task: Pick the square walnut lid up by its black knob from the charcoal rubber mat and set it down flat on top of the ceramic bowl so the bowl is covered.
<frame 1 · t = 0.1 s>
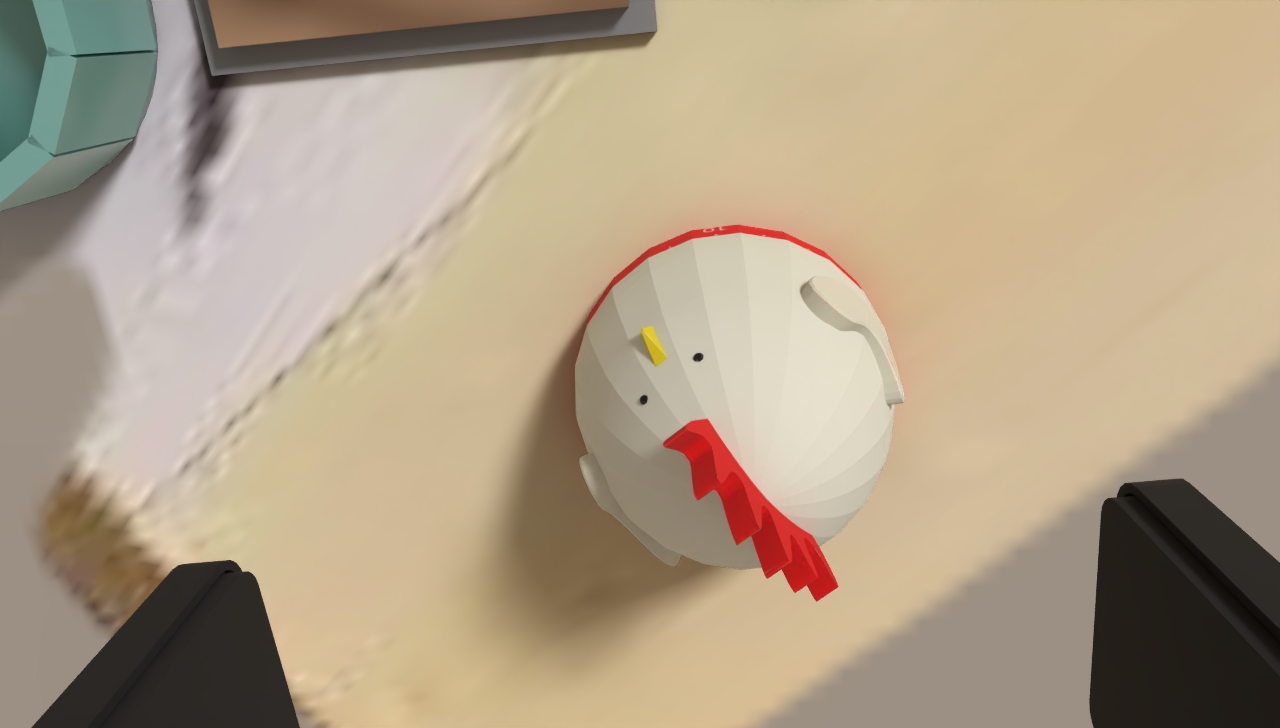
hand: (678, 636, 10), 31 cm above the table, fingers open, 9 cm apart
kitchen timer: (730, 374, 43), on the table
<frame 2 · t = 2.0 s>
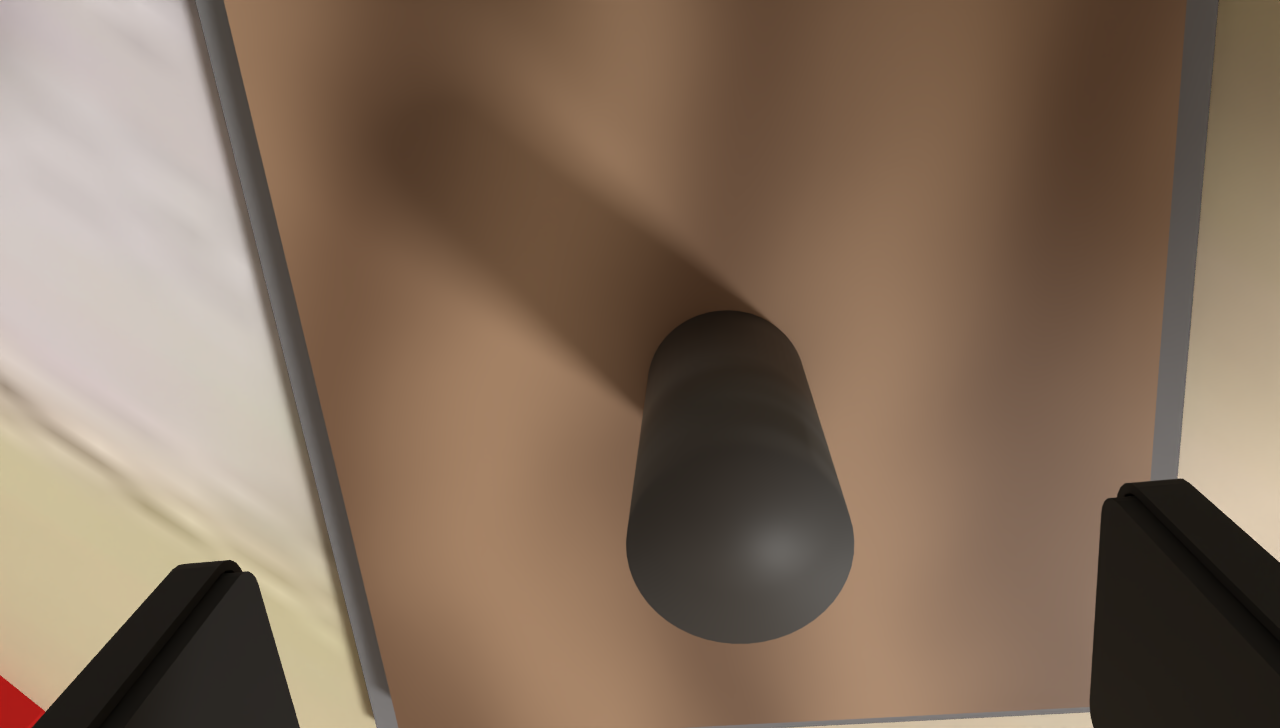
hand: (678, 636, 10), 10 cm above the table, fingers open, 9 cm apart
mat: (723, 357, 20), on the table
lid: (724, 367, 19), point 1 cm above the table, touching mat
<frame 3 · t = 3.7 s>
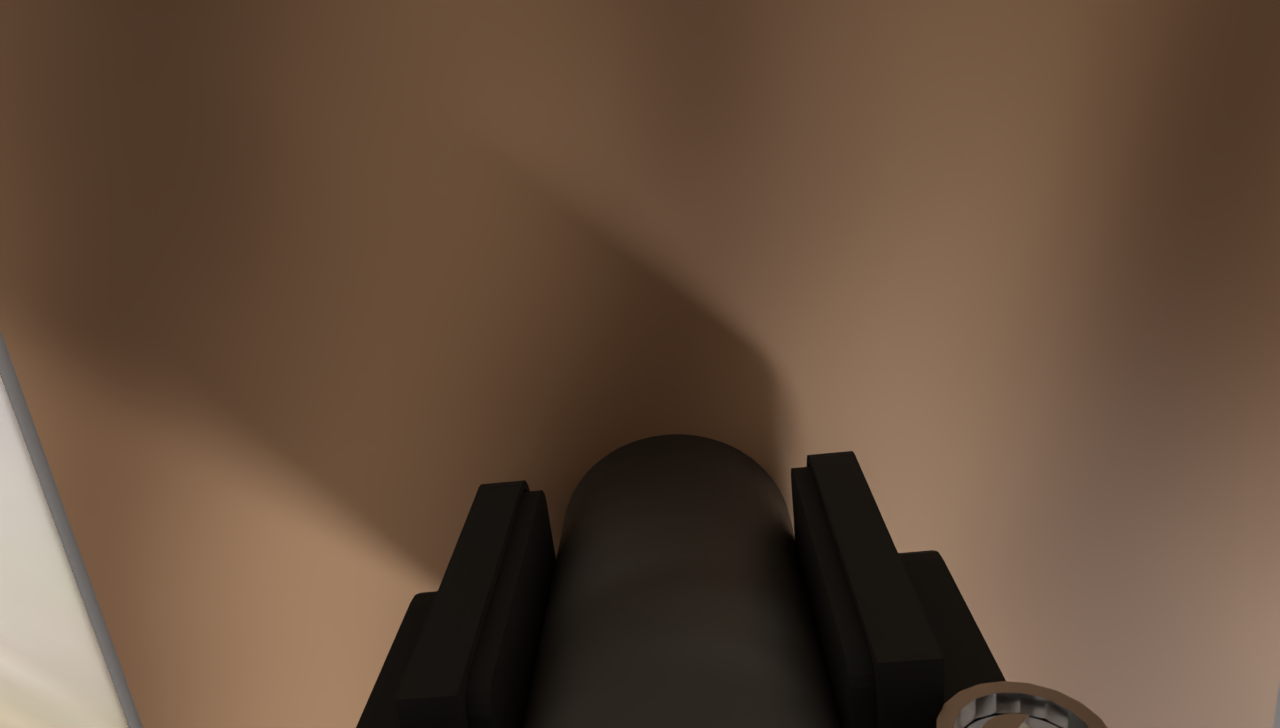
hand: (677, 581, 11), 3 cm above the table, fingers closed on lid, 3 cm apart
mat: (675, 482, 14), on the table
lid: (675, 501, 13), point 1 cm above the table, touching gripper, mat
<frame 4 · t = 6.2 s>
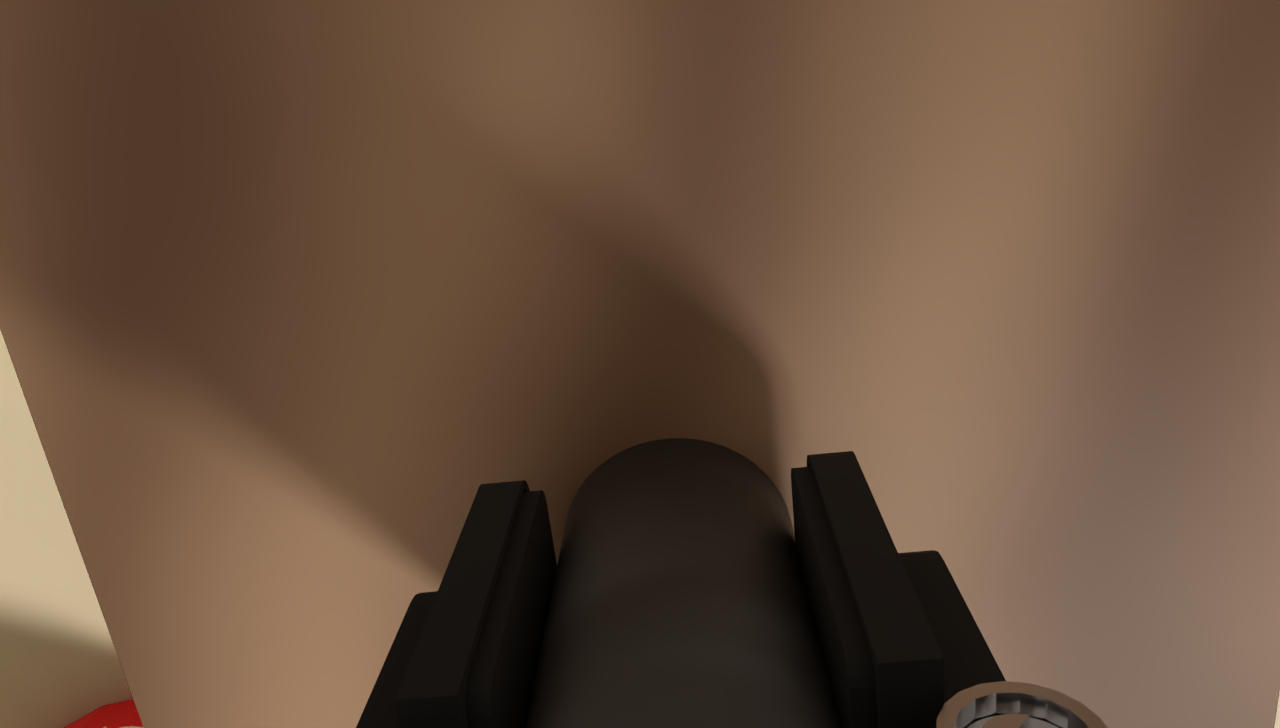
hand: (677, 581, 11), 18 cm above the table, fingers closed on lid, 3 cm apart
lid: (677, 505, 13), point 16 cm above the table, touching gripper
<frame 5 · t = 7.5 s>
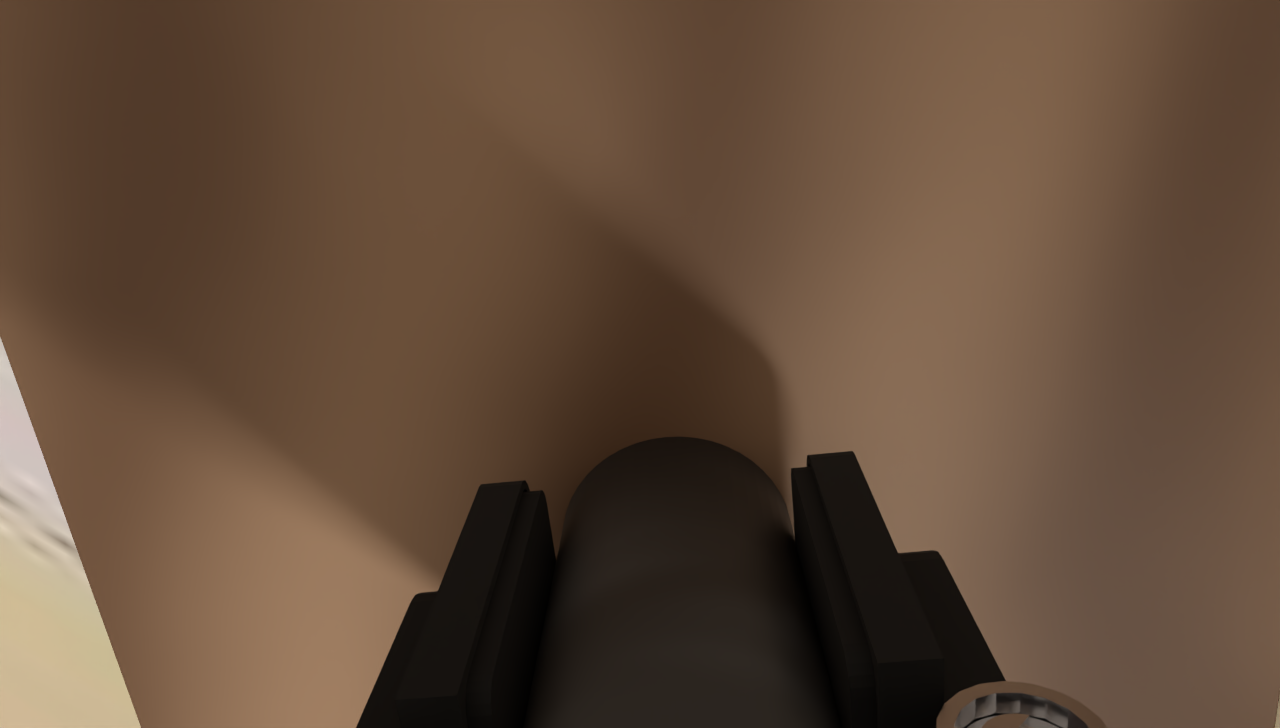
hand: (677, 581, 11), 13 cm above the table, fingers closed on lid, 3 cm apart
lid: (676, 504, 13), point 11 cm above the table, touching gripper
when the fingers open (10 cm above the table, at t = 8.7 s): lid drops 2 cm, resting on bowl.
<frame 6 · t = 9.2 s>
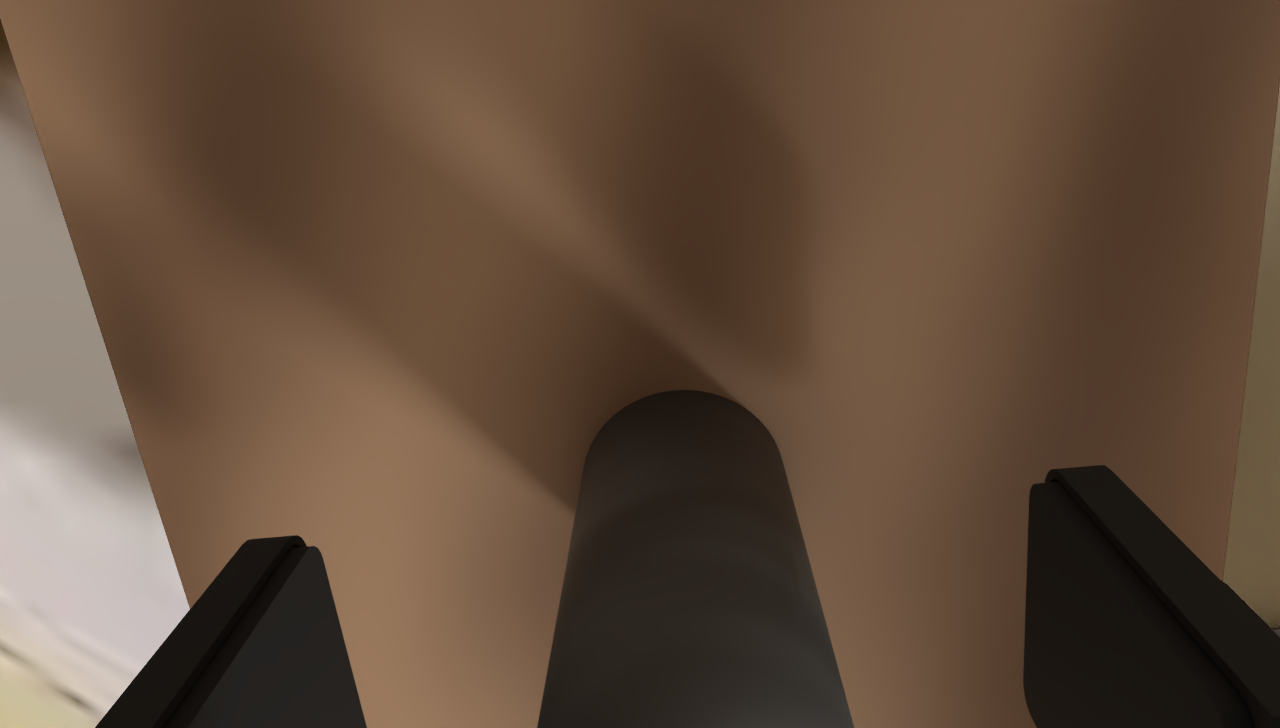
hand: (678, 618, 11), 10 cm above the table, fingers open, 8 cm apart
lid: (682, 454, 15), point 6 cm above the table, touching bowl
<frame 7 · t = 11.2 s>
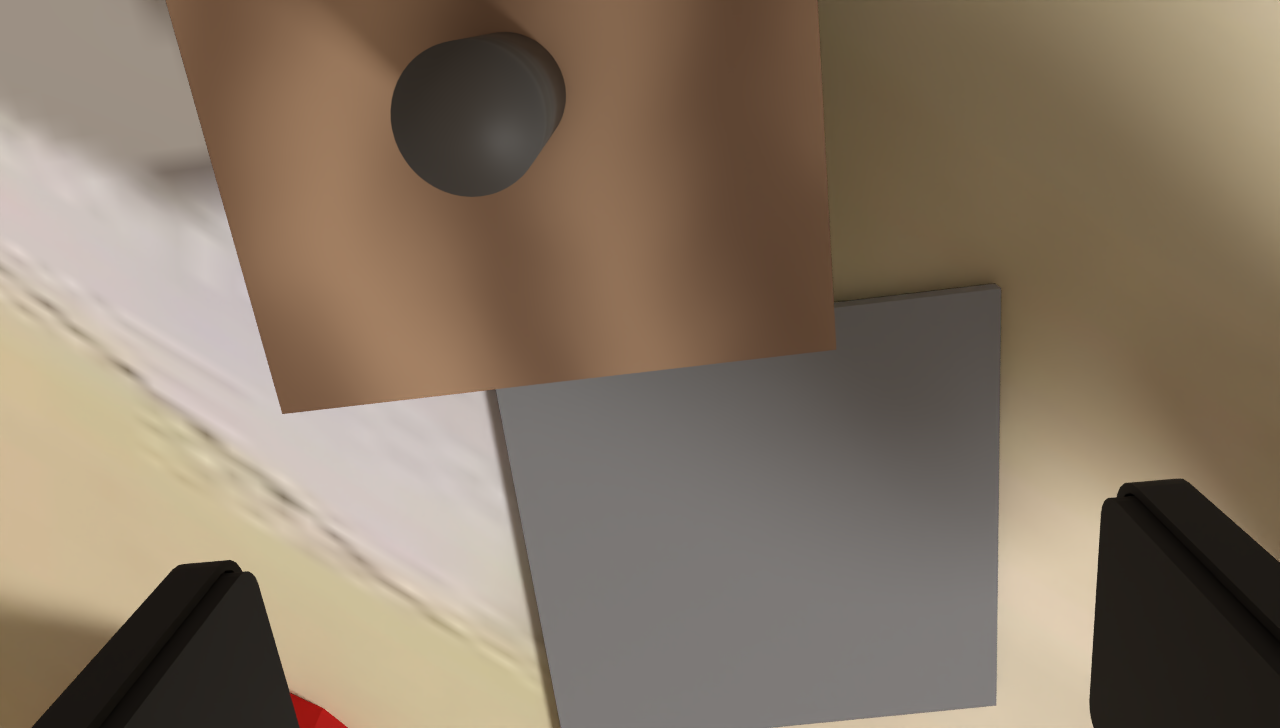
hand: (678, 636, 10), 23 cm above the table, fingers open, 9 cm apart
mat: (759, 532, 37), on the table
lid: (512, 90, 25), point 6 cm above the table, touching bowl
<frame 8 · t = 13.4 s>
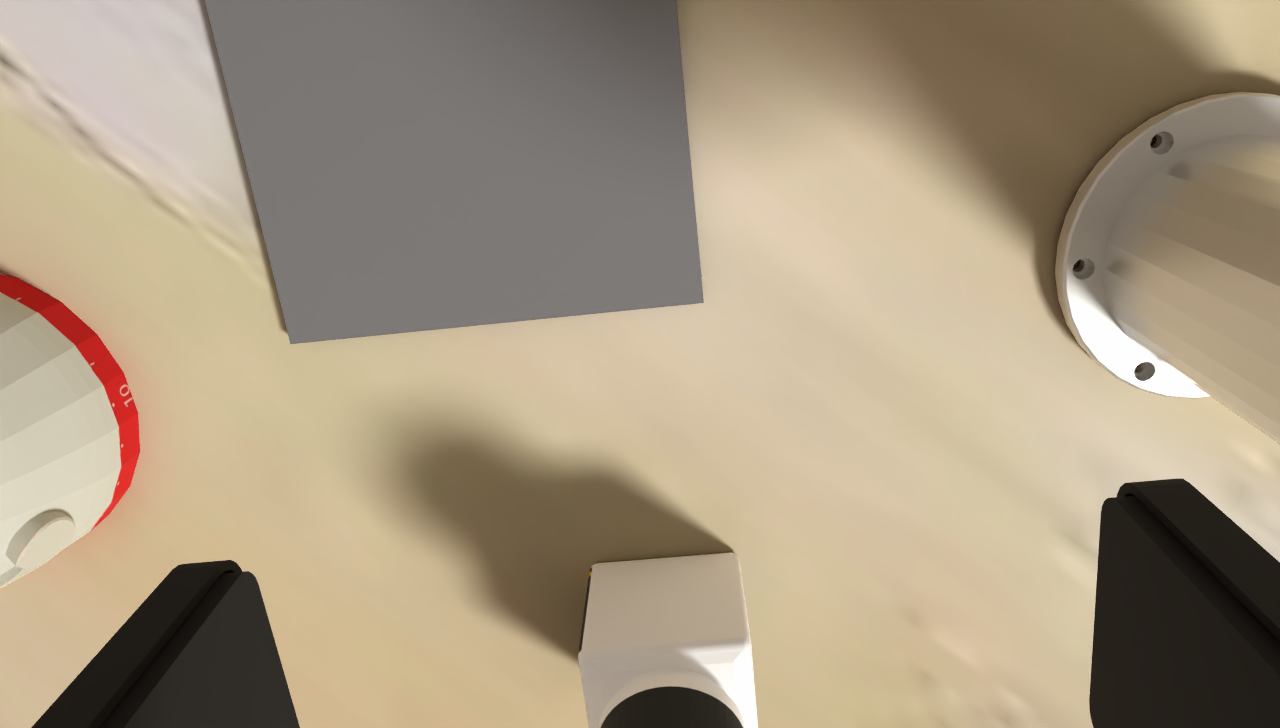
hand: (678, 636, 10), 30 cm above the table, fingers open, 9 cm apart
medicine bottle: (670, 615, 46), on the table
mat: (460, 107, 38), on the table
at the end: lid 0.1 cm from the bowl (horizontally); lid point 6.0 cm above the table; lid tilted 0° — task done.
